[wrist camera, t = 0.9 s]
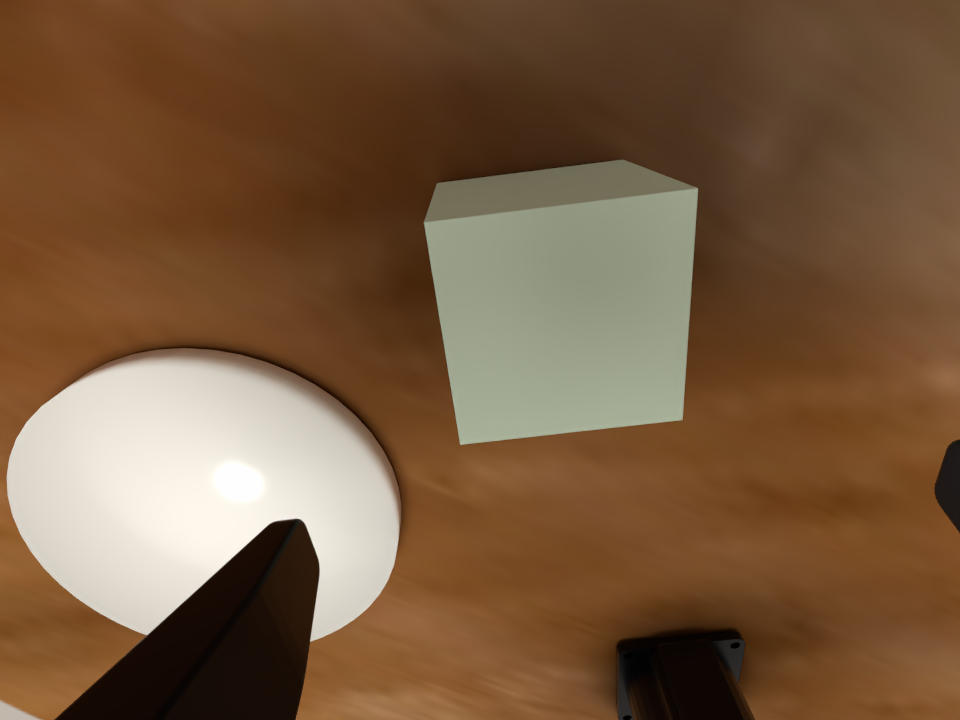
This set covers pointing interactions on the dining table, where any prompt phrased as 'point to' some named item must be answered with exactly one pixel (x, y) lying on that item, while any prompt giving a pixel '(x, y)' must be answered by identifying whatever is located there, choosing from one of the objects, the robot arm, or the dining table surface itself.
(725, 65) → the dining table surface
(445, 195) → the sage cube
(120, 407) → the plate
